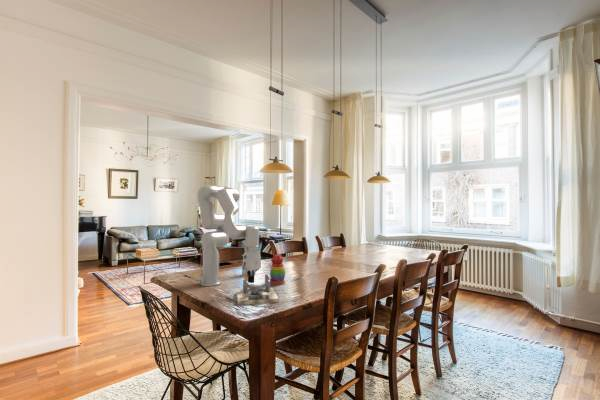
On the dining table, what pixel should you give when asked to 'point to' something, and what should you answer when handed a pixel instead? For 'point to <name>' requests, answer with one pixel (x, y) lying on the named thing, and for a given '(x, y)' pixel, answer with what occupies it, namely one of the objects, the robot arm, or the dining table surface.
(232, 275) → the dining table surface
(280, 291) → the dining table surface
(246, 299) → the stand
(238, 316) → the dining table surface
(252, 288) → the capstan
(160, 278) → the dining table surface
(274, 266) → the stacking bear
